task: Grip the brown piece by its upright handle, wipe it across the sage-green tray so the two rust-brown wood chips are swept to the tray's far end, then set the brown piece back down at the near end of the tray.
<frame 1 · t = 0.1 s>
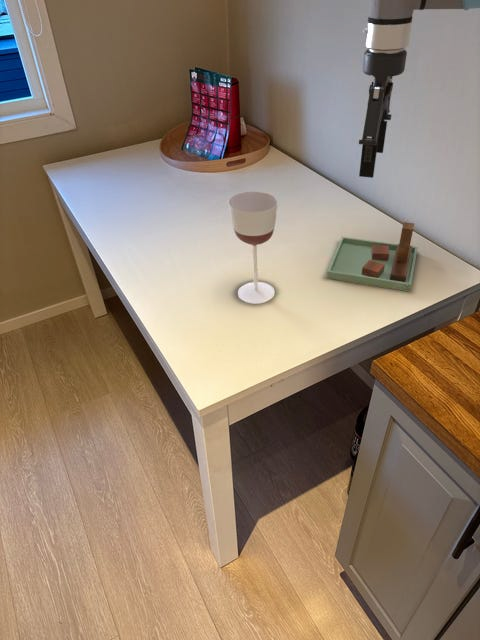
hand: (371, 163, 101), 27 cm above the table, tool pointing down, fingers open, 13 cm apart
chip a: (379, 256, 122), resting on tray
chip b: (372, 272, 117), resting on tray
tray: (372, 265, 120), on the table
wineglass: (256, 293, 114), on the table
brown piece: (400, 268, 118), resting on tray
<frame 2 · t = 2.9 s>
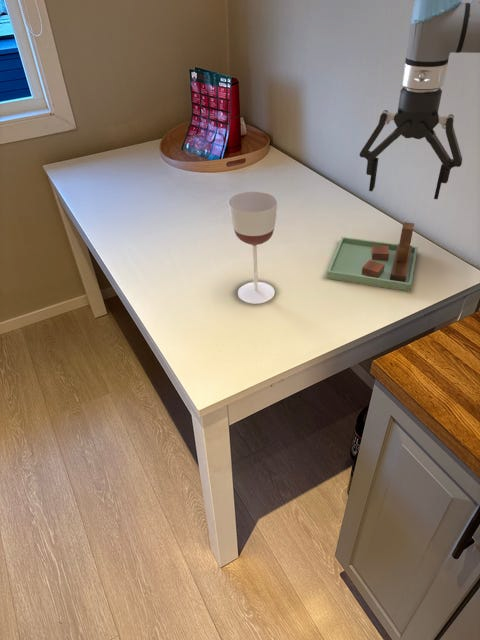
hand: (403, 192, 105), 20 cm above the table, tool pointing down, fingers open, 13 cm apart
nothing on the table moved.
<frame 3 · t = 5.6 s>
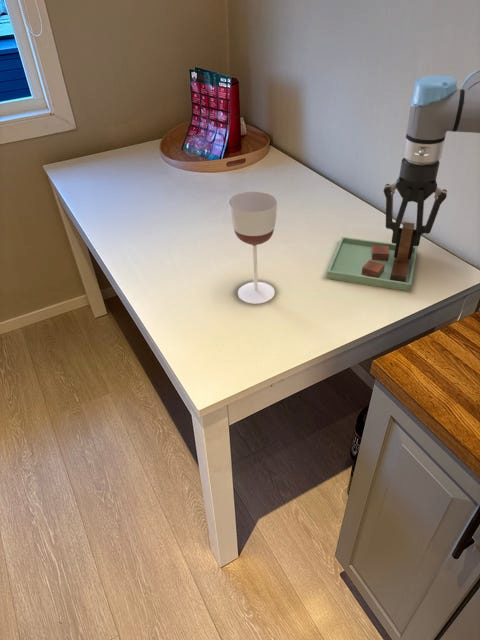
hand: (402, 255, 115), 4 cm above the table, tool pointing down, fingers closed on brown piece, 2 cm apart
brown piece: (400, 268, 118), point 1 cm above the table, touching gripper
everything else where it was.
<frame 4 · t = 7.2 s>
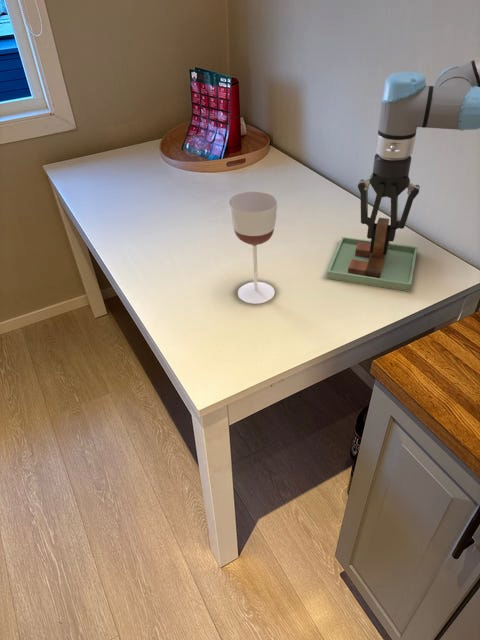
hand: (378, 250, 117), 4 cm above the table, tool pointing down, fingers closed on brown piece, 2 cm apart
chip a: (364, 253, 124), resting on tray
chip b: (357, 271, 117), point 1 cm above the table
brown piece: (376, 263, 119), point 1 cm above the table, touching gripper
everything else where it was.
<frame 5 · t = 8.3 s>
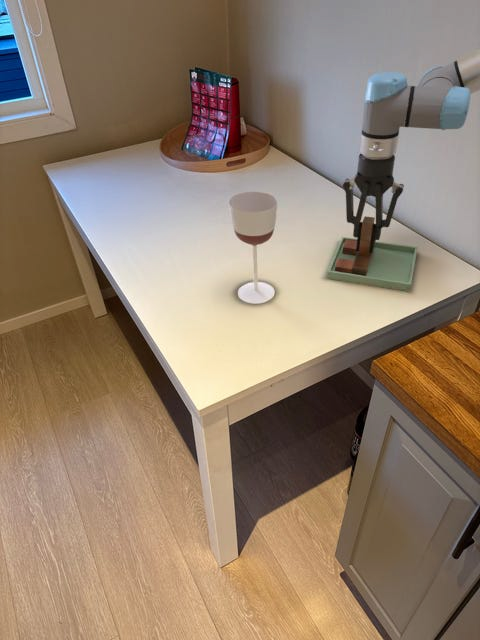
hand: (364, 249, 118), 4 cm above the table, tool pointing down, fingers closed on brown piece, 2 cm apart
chip a: (351, 251, 125), resting on tray, touching brown piece
chip b: (344, 270, 118), resting on tray, touching brown piece
brown piece: (363, 261, 120), point 1 cm above the table, touching chip a, chip b, gripper
everything else where it was.
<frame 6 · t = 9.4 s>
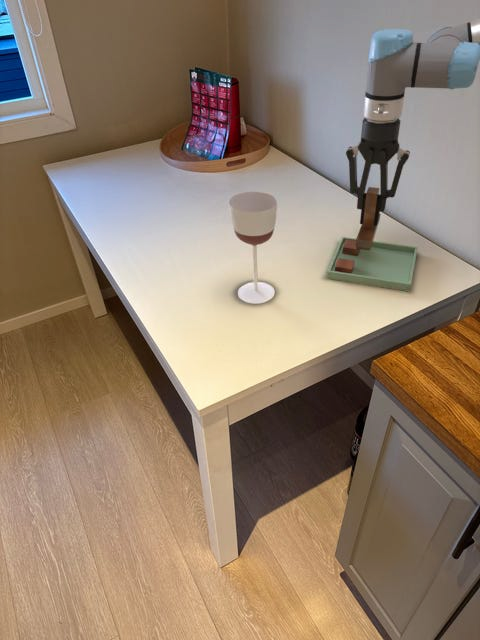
hand: (369, 222, 113), 12 cm above the table, tool pointing down, fingers closed on brown piece, 2 cm apart
chip a: (351, 251, 125), resting on tray
chip b: (344, 270, 118), resting on tray
brown piece: (367, 235, 116), point 8 cm above the table, touching gripper
everything else where it was.
when the fingers open (4 cm above the table, at t = 13.6 s): brown piece stays where it is, resting on tray.
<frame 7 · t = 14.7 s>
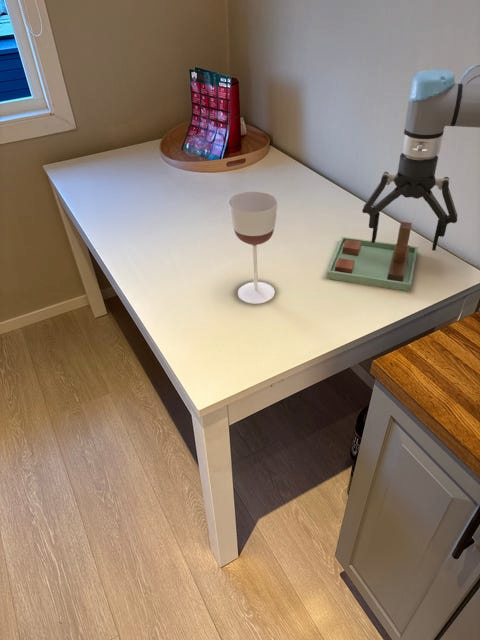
hand: (403, 243, 114), 7 cm above the table, tool pointing down, fingers open, 13 cm apart
brown piece: (397, 267, 118), resting on tray
everything else where it was.
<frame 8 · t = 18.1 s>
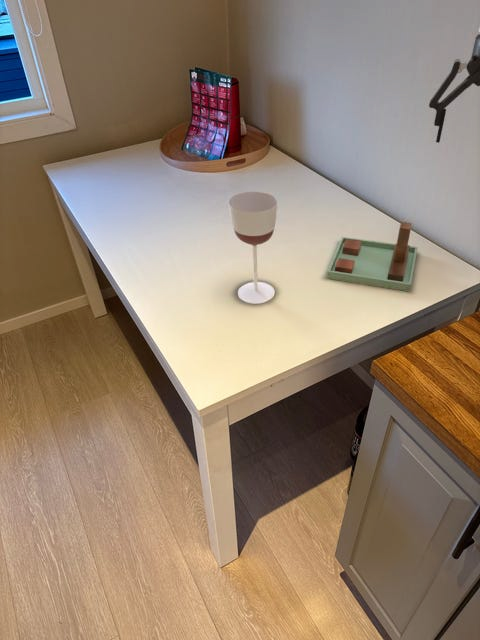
hand: (470, 142, 108), 27 cm above the table, tool pointing down, fingers open, 13 cm apart
nothing on the table moved.
at the end: chip a inside the target area (4.5 cm from its centre), point 0.5 cm above the table; chip b inside the target area (4.7 cm from its centre), point 0.5 cm above the table; the gripper is holding nothing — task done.
